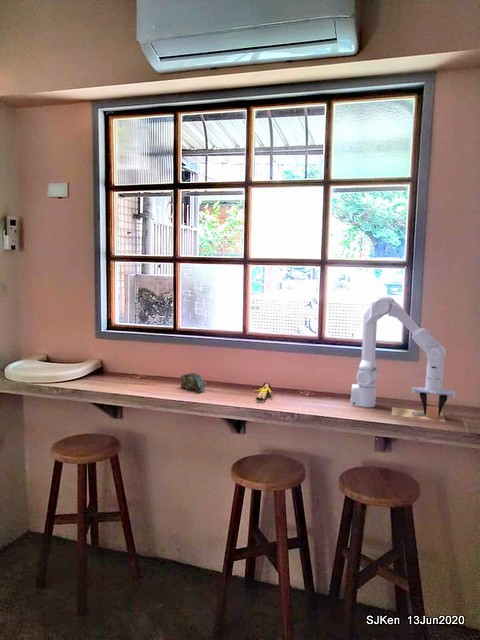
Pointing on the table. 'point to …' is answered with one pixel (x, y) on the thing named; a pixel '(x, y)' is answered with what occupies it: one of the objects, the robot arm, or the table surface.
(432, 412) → the block
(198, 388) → the sculpture
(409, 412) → the board
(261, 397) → the toy
